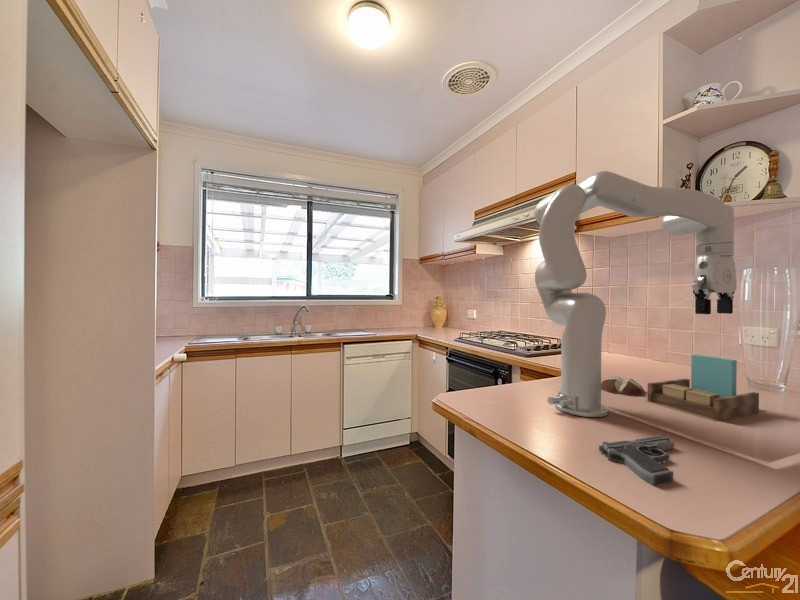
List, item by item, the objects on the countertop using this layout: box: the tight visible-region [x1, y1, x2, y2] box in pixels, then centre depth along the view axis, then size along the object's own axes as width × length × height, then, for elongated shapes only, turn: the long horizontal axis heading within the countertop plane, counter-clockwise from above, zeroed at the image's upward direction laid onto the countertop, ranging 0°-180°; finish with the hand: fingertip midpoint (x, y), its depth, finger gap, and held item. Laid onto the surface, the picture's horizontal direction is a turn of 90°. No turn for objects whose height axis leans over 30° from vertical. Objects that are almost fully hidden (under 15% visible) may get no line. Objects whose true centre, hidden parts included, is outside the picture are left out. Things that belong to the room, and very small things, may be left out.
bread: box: [601, 376, 645, 397], centre depth 102 cm, size 11×11×5 cm
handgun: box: [598, 435, 675, 486], centre depth 60 cm, size 2×17×12 cm
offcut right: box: [686, 389, 720, 407], centre depth 83 cm, size 4×5×5 cm
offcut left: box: [663, 384, 693, 400], centre depth 88 cm, size 4×5×5 cm
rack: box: [645, 378, 767, 423], centre depth 88 cm, size 22×16×6 cm
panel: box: [690, 354, 738, 398], centre depth 89 cm, size 2×9×13 cm, turn 20°
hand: (714, 313), depth 89 cm, fingers open, 9 cm apart
